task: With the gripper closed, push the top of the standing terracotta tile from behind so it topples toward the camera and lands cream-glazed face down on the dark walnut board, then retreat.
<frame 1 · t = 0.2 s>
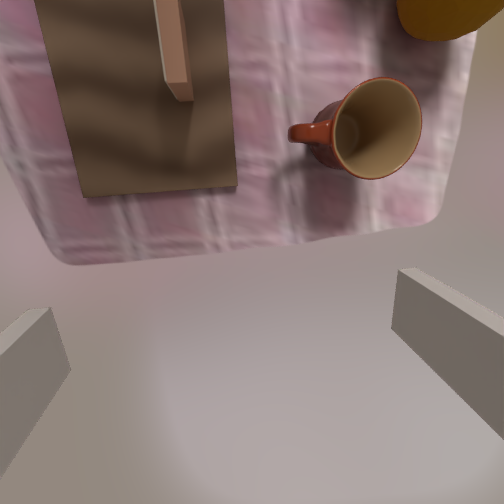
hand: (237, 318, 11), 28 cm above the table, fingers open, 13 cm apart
mug: (321, 137, 36), on the table
apple: (416, 9, 33), on the table
tile: (181, 64, 31), point 1 cm above the table, touching board
board: (148, 89, 32), on the table
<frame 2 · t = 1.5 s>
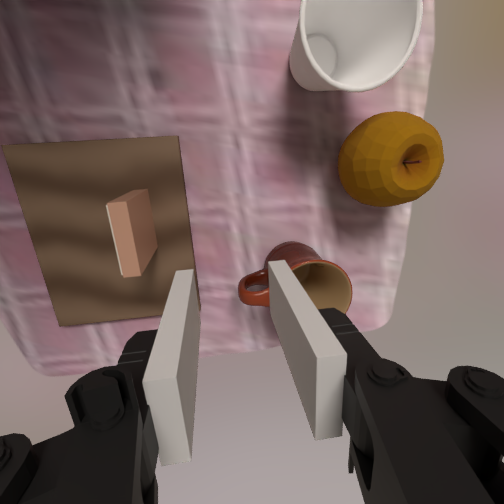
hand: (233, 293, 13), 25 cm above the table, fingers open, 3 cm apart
mug: (276, 264, 40), on the table
apple: (359, 160, 37), on the table
tile: (145, 219, 35), point 1 cm above the table, touching board
board: (116, 235, 36), on the table
cup: (314, 61, 33), on the table
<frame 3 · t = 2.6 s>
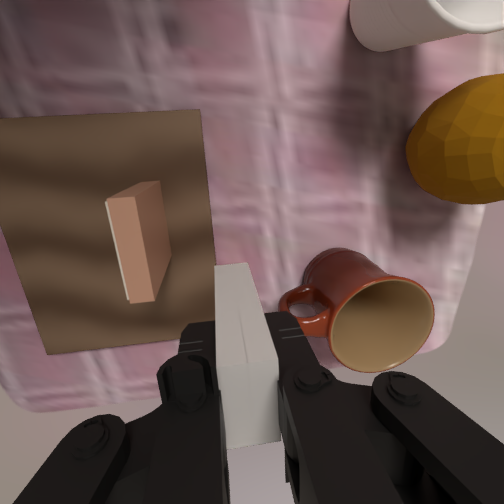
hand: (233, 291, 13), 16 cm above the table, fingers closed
mug: (317, 275, 32), on the table
apple: (426, 145, 29), on the table
tile: (156, 220, 27), point 1 cm above the table, touching board
board: (119, 241, 28), on the table
cup: (380, 11, 25), on the table
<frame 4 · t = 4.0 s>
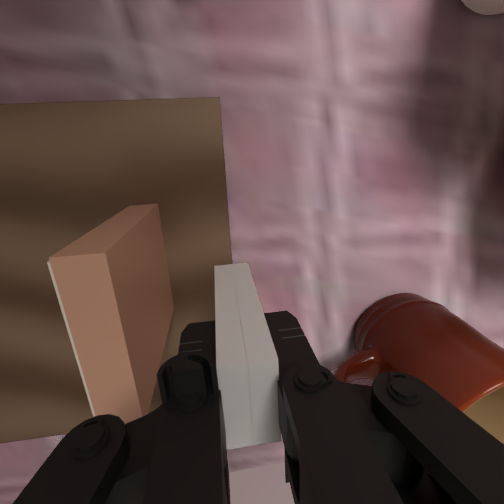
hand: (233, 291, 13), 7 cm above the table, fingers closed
mug: (371, 327, 24), on the table
tile: (151, 260, 18), point 1 cm above the table, touching board
board: (99, 287, 20), on the table
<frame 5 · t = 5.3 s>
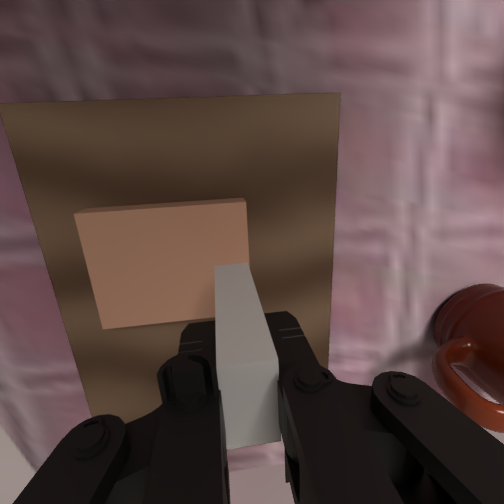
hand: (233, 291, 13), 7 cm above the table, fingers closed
mug: (448, 317, 25), on the table
tile: (247, 256, 18), point 2 cm above the table, tilted 90°, touching board
board: (201, 276, 20), on the table
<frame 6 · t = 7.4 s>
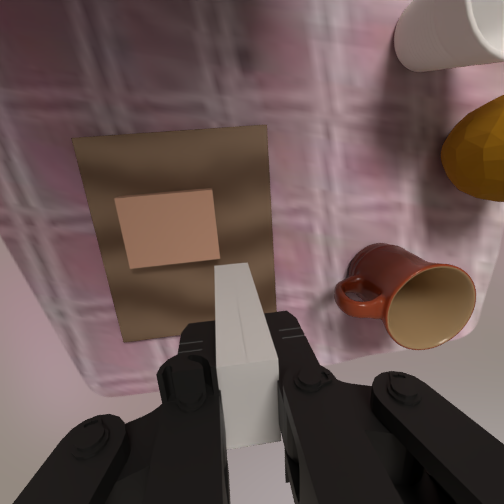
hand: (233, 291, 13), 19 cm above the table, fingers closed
mug: (360, 268, 36), on the table
apple: (458, 151, 33), on the table
tile: (216, 223, 30), point 2 cm above the table, tilted 90°, touching board
board: (189, 239, 32), on the table
cup: (419, 38, 29), on the table
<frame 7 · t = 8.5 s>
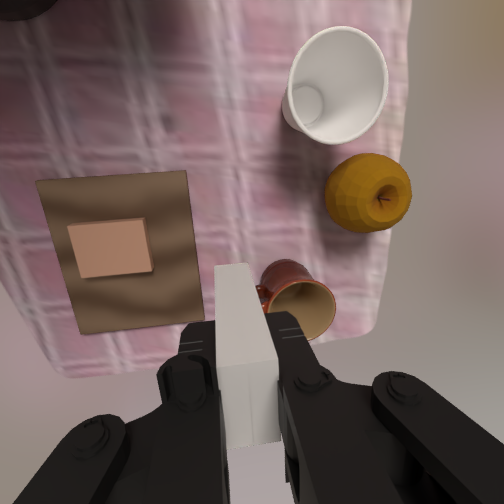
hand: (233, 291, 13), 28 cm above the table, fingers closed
mug: (272, 278, 45), on the table
apple: (344, 188, 42), on the table
tile: (148, 244, 39), point 2 cm above the table, tilted 90°, touching board
board: (131, 255, 41), on the table
cup: (304, 106, 38), on the table
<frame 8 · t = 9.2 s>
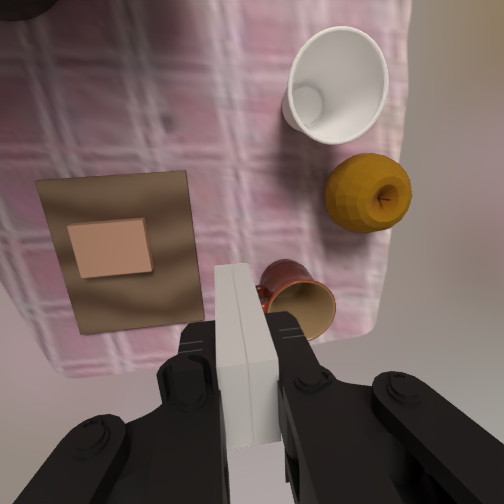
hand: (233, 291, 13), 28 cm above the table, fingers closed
mug: (272, 278, 45), on the table
apple: (344, 188, 42), on the table
tile: (148, 244, 39), point 2 cm above the table, tilted 90°, touching board
board: (131, 255, 41), on the table
cup: (304, 106, 38), on the table
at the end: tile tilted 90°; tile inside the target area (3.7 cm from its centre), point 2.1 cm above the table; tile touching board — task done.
